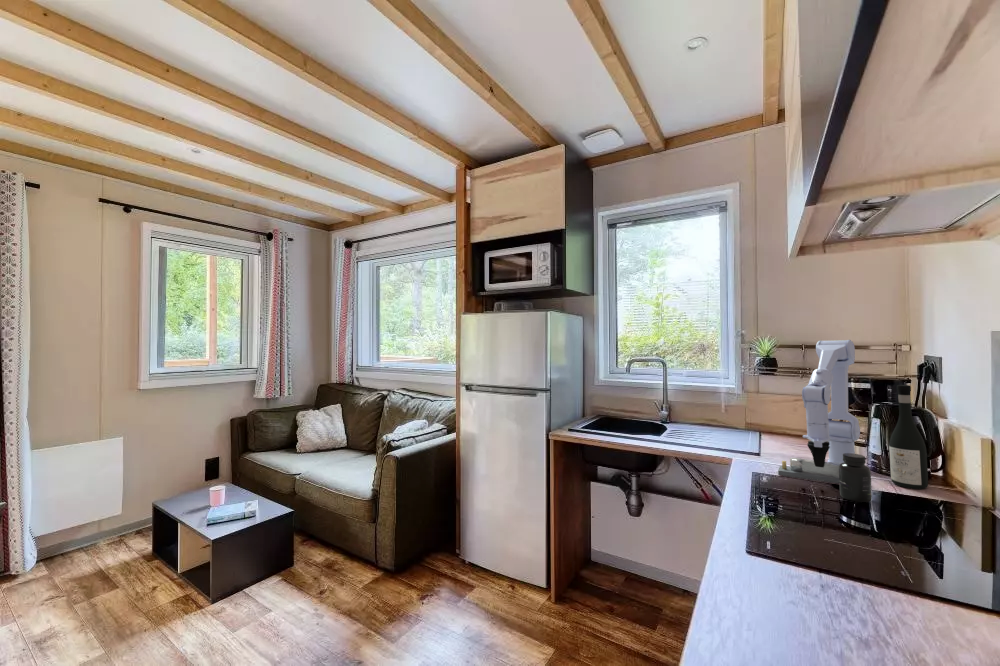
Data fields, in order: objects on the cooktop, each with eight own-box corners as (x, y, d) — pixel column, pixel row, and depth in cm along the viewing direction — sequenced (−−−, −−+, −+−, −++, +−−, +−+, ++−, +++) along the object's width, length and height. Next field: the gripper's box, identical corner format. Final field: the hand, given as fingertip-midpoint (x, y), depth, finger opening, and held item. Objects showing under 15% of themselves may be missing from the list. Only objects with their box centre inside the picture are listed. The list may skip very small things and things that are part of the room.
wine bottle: (919, 491, 121) (913, 386, 123) (885, 483, 129) (879, 385, 130) (934, 487, 124) (928, 385, 126) (900, 480, 132) (895, 383, 133)
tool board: (780, 470, 145) (779, 458, 145) (864, 481, 132) (863, 468, 132) (778, 475, 140) (777, 462, 140) (866, 487, 126) (865, 473, 126)
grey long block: (790, 467, 142) (790, 457, 143) (851, 475, 133) (850, 463, 133) (789, 471, 139) (789, 460, 139) (851, 479, 129) (851, 467, 129)
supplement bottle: (834, 496, 119) (832, 453, 120) (848, 492, 122) (846, 450, 122) (864, 504, 113) (861, 459, 113) (877, 500, 116) (875, 456, 116)
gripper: (803, 418, 145) (805, 458, 144) (801, 425, 133) (803, 469, 133) (829, 420, 140) (831, 461, 140) (829, 427, 129) (831, 472, 128)
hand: (819, 465), depth 136 cm, fingers closed on grey long block, 3 cm apart
